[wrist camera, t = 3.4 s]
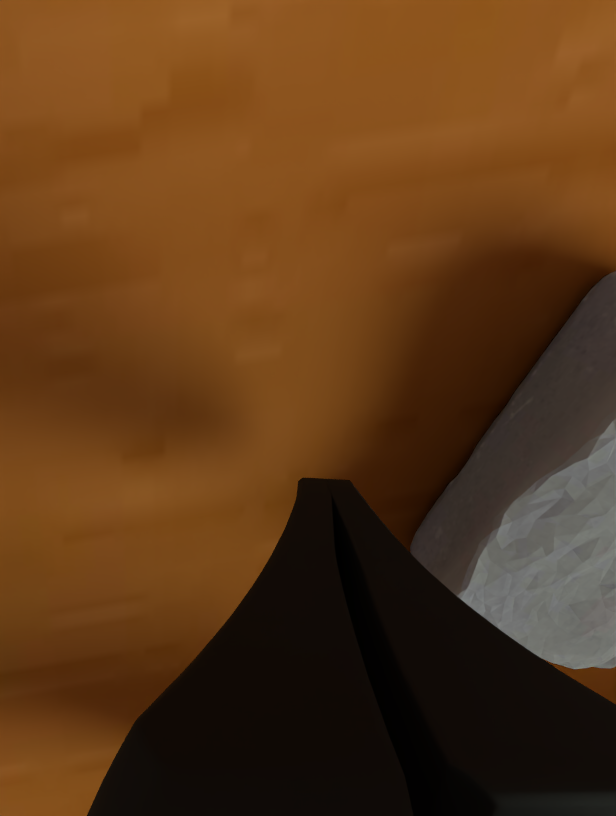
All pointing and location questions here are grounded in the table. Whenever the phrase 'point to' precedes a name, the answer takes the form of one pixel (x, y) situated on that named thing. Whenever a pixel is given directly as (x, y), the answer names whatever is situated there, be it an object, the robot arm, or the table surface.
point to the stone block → (542, 502)
